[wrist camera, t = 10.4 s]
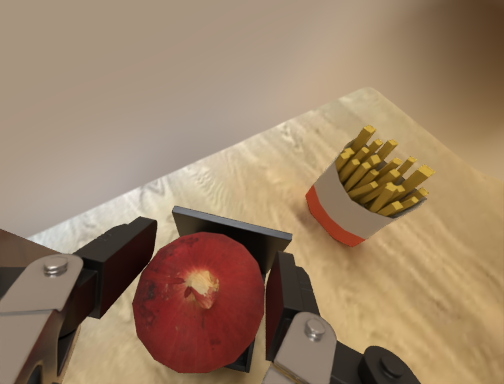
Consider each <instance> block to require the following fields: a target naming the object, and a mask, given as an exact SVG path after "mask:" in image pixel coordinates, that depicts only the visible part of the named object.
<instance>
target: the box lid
mask: <svg viewBox="0 0 504 384" xmlns="http://www.w3.org/2000/svg"><path fill="white" fill-rule="evenodd" d="M172 214H173V217H174V220H175V223H176V226H177V230H178V233H179V236H180V237H181V236H186V235H190V234H194V233H199V232H208V233H216V234H223V235H225V236H227V237H229V238H231V239H233V240H235V241H236V242H238V243H240V244H242V245H244V247H245V248H246V249H247V250H248V252H249V253H250V254H251V255H252V257H253V258H254V259H255V260H256V262H257V263H258V265H259V269H260V272H261V273H265V274H267V273H268V271H269V270H270V269H271V267H272V264H273V260H274V257H275V254H276V252H277V251H282V252H283V251H284V250H285V249H286V247H287V246H288V245H289V243H290V242H291V241H292V234H290V233H286V232H282V231H278V230H273V229H269V228H265V227H261V226H257V225H253V224H249V223H245V222H241V221H236V220H232V219H228V218H224V217H220V216H216V215H212V214H208V213H204V212H199V211H195V210H191V209H187V208H183V207H179V206H174V208H173V210H172Z"/></svg>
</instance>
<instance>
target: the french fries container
mask: <svg viewBox="0 0 504 384" xmlns="http://www.w3.org/2000/svg"><path fill="white" fill-rule="evenodd" d="M375 131H376V129H375V128H373V127H372V126H370V125H367V126H366V127H364V128H363V129H362V131H361V132H360V134H359V135H358V137H357V138H355V139H354V140H352V141H351V142H349V143H348V144H347V145H346V146H345V147H344V148H343V150H342V151H341V152H340V153H339V154H338V156H337V157H336V158H335V159H334V160H333V162H332V163H331V164H330V165H329V166H328V167H327V169H326V170H325V171H324V172H323V173H322V175H321V176H320V177H319V178H318V179H317V181H316V182H315V183H314V184H313V186H312V187H311V188H310V190H309V191H308V193H307V194H306V199H307V202H308V205H309V208H310V211H311V214H312V215H313V216H314V217H315V218H316V219H317V221H318V222H319V223H320V224H321V225H322V226H323V227H324V228H325V230H326V231H327V232H328V233H329V234H330V235H331V236H332V237H333V238H334V239H336V240H338V241H340V242H342V243H344V244H347V245H349V246H351V247H353V246H355V245H357V244H359V243H361V242H363V241H365V240H366V239H368V238H369V237H370V236H372V235H373V234H375V233H376V232H377V231H379V230H380V229H381V228H383V227H384V226H386V225H388V224H390V223H391V222H393V221H395V220H397V219H399V218H400V217H402V216H404V215H406V214H408V213H410V212H411V211H413V210H415V209H417V208H418V207H419V206H420V205H421V204H422V203H423V202H424V201H425V200H426V199H427V198H426V197H424V196H426V195H427V194H428V193H429V192H427V191H426V190H425V189H424V188H423V187H422V188H420V189H419V190H417V189H415V187H417V186H418V185H419V184H421V183H422V182H423V181H425V180H426V179H427V178H428V177H430V176H431V175H432V174H433V173H435V171H433V170H432V169H430V168H429V167H427V166H426V165H423V166H421V167H420V168H419V169H418V170H416V171H415V172H414V173H413V174H412V175H411V176H410V177H409V178H408V179H407V180H405V179H404V178H403V177H402V175H403V174H404V173H405V172H406V171H407V170H408V169H409V168H410V167H411V166H412V165H413V163H414V162H415V161H416V159H415V158H413V157H411V156H410V157H409V158H408V159H407V160H406V162H405V163H404V164H403V165H402V166H401V167H400V168H399V169H398V170H396V168H397V167H398V166H400V164H401V163H402V162H403V161H401V160H399V159H397V158H394V159H393V160H392V161H390V162H389V163H388V164H387V163H386V162H385V161H384V159H385V158H386V157H387V156H388V154H389V153H390V152H391V151H392V150H393V149H394V148H395V147H396V146H397V145H398V143H397V142H396V141H395V140H394V139H393V140H389V141H387V142H386V143H385V145H384V146H383V147H382V148H381V149H380V150H379V151H378V152H377V153H375V151H376V150H377V149H378V148H379V147H380V146H381V145H382V144H383V142H381V141H380V140H379V139H377V140H375V141H373V143H372V144H371V145H370V146H369V147H368V146H367V145H366V143H367V141H368V140H369V139H370V137H371V136H372V135H373V134H374V132H375Z"/></svg>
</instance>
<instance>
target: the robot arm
mask: <svg viewBox="0 0 504 384" xmlns="http://www.w3.org/2000/svg"><path fill="white" fill-rule="evenodd" d="M156 232H157V221H156V220H153V219H149V218H145V217H141V216H140V217H138V218H136V219H135V220H134V221H132V222H131V223H129V224H122V225H119V226H116V227H113V228H111V229H110V230H108V231H107V232H105V233H104V234H102V235H100V236H99V237H97V239H94V240H93V241H91V242H90V243H88V244H87V245H85V246H83V247H82V248H80V249H79V250H77V251H76V252H74V253H73V254H54V255H49V256H45V257H42V258H39V259H37V260H35V261H33V262H32V263H31V264H29V265H28V266H27V267H0V384H62V381H63V378H64V375H65V373H66V370H67V367H68V364H69V361H70V358H71V356H72V353H73V350H74V347H75V344H76V341H77V339H78V336H79V333H80V329H81V323H82V321H83V320H84V319H85V318H86V317H87V316H88V317H93V318H97V319H100V318H101V317H102V316H103V315H104V314H105V313H106V312H107V310H108V309H109V308H110V307H111V306H112V305H113V304H114V302H115V301H116V300H117V299H118V298H119V297H120V295H121V294H122V293H123V292H124V291H125V290H126V289H127V287H128V286H129V285H130V284H131V283H132V282H133V280H134V279H135V278H136V277H137V276H138V275H139V274H140V272H141V271H142V270H143V269H144V268H145V267H146V265H147V264H148V263H149V262H150V260H151V258H152V255H153V252H154V246H155V239H156ZM266 360H267V361H272V362H271V364H270V366H269V368H268V370H267V372H266V375H265V377H264V379H263V381H262V383H261V384H421V383H420V382H419V380H418V379H417V378H416V376H415V375H414V374H413V372H412V371H411V370H410V368H409V367H408V366H407V365H406V364H405V363H404V362H403V361H402V360H401V359H400V358H399V357H398V356H396V355H395V354H393V353H392V352H390V351H389V350H387V349H384V348H382V347H379V346H369V347H368V348H367V349H366V350H365V352H364V354H361V353H359V352H357V351H355V350H353V349H351V348H349V347H348V346H346V345H344V344H342V343H341V342H339V341H338V340H337V338H336V334H335V332H334V330H333V328H332V327H331V326H330V324H329V323H328V322H327V321H326V320H324V319H323V318H322V317H321V316H320V313H319V309H318V306H317V303H316V299H315V296H314V293H313V289H312V286H311V282H310V278H309V275H308V274H307V273H306V272H305V270H304V269H303V268H302V267H298V266H296V265H295V261H294V256H293V254H290V253H286V252H282V251H277V252H276V254H275V257H274V260H273V264H272V267H271V270H270V274H269V277H268V281H267V285H266Z"/></svg>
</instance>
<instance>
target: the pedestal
mask: <svg viewBox="0 0 504 384" xmlns="http://www.w3.org/2000/svg"><path fill="white" fill-rule="evenodd" d="M54 254H62V253H60V252H57V251H55V250H52V249H50V248H47V247H45V246H42V245H40V244H37V243H35V242H32V241H30V240H27V239H25V238H22V237H20V236H17V235H15V234H12V233H10V232H7V231H4V230H2V229H0V267H27V266H28V265H29V264H31V263H32V262H33V261H35V260H37V259H39V258H42V257H45V256H49V255H54Z"/></svg>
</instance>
